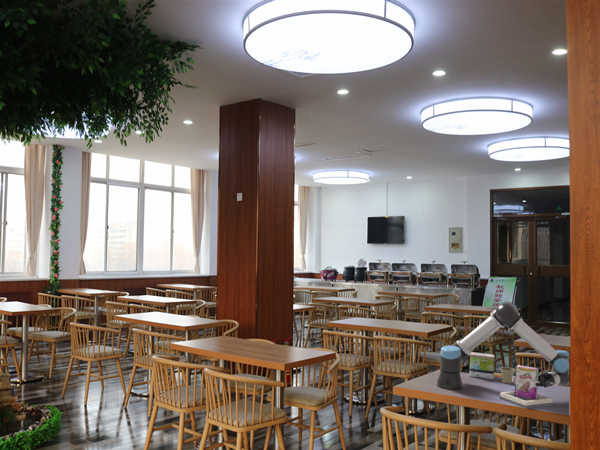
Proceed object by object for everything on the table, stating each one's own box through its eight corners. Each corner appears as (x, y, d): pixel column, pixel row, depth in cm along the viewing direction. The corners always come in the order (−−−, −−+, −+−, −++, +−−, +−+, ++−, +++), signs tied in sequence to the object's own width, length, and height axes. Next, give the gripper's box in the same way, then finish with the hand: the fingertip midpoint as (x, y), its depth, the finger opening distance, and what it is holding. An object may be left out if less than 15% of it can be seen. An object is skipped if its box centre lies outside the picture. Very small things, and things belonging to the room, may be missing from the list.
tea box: (469, 376, 351) (470, 354, 352) (469, 373, 360) (470, 351, 361) (493, 379, 346) (494, 356, 347) (493, 376, 356) (493, 353, 357)
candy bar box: (514, 396, 297) (515, 366, 298) (516, 394, 301) (517, 364, 302) (536, 400, 291) (536, 369, 292) (537, 398, 295) (538, 368, 296)
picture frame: (499, 398, 300) (500, 392, 300) (525, 396, 309) (525, 390, 309) (525, 408, 284) (526, 401, 284) (552, 405, 292) (552, 398, 292)
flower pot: (495, 380, 343) (496, 367, 343) (507, 380, 346) (508, 366, 347) (506, 384, 334) (506, 370, 335) (518, 384, 337) (518, 370, 338)
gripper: (567, 391, 293) (539, 394, 284) (531, 380, 315) (504, 383, 306) (567, 377, 294) (539, 380, 284) (532, 368, 315) (504, 370, 306)
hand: (521, 381), depth 295 cm, fingers closed on candy bar box, 12 cm apart
